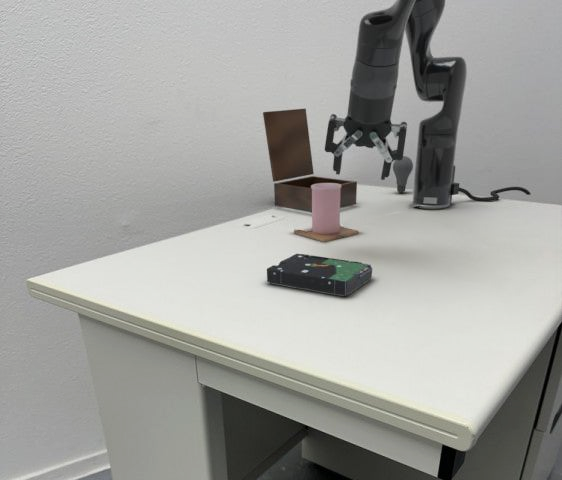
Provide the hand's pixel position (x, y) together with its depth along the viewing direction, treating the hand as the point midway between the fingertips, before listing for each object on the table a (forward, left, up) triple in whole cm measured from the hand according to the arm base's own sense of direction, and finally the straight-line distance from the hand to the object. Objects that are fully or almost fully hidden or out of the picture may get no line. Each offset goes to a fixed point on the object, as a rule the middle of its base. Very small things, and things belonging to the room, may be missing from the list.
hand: (360, 175), depth 103 cm
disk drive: (+20, +11, -14) cm, 27 cm away
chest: (-18, -34, -14) cm, 41 cm away
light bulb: (-48, -31, -14) cm, 59 cm away
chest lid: (-17, -43, +1) cm, 46 cm away
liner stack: (-2, -12, -13) cm, 18 cm away
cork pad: (-2, -12, -14) cm, 18 cm away
